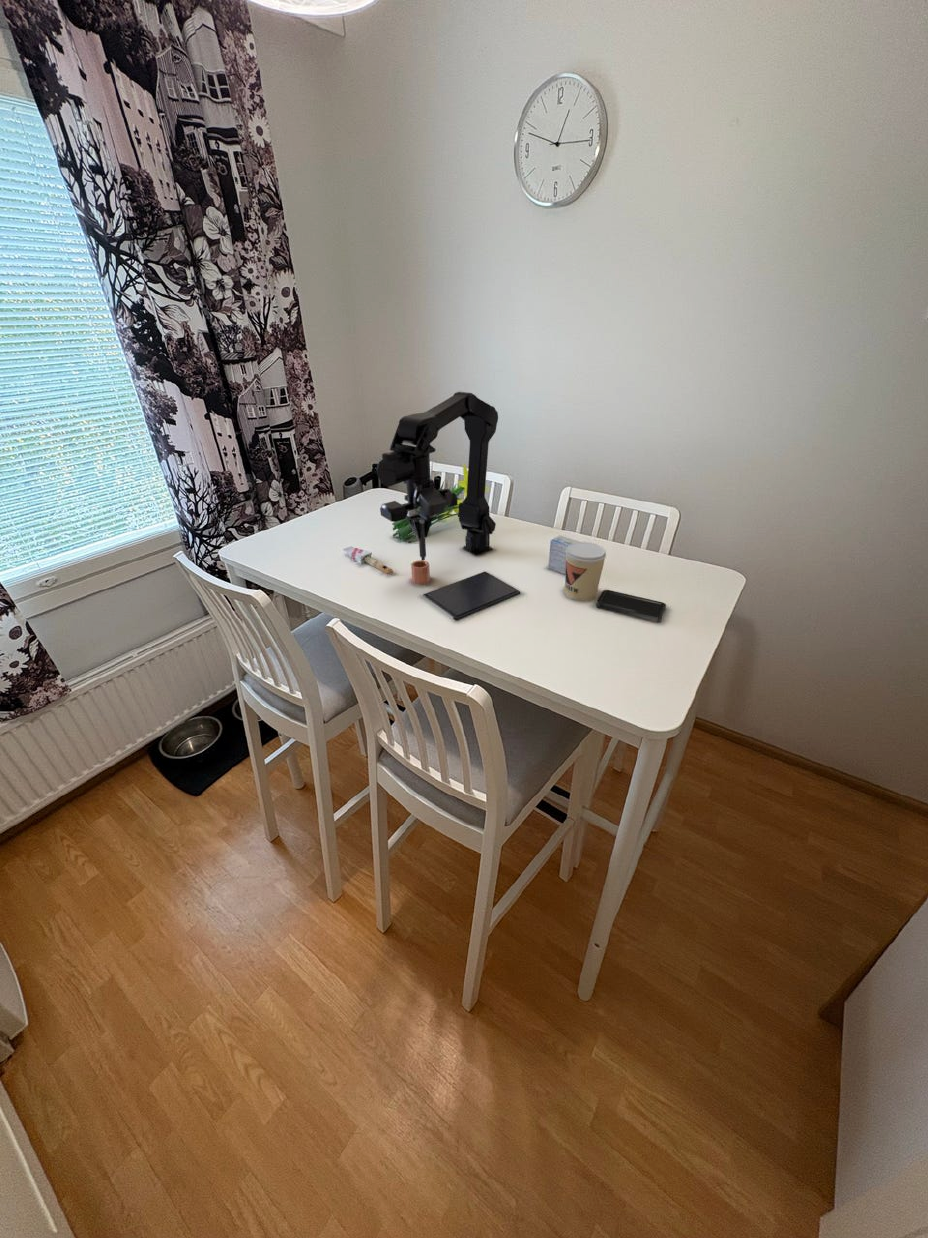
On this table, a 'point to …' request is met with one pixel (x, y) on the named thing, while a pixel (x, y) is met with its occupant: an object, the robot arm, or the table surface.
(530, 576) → the table surface
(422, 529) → the stylus
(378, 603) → the table surface
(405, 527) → the daffodil flowers
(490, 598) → the tablet
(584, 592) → the coffee cup
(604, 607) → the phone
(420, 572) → the pen cup
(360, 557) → the paintbrush
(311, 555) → the table surface
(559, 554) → the medicine box
